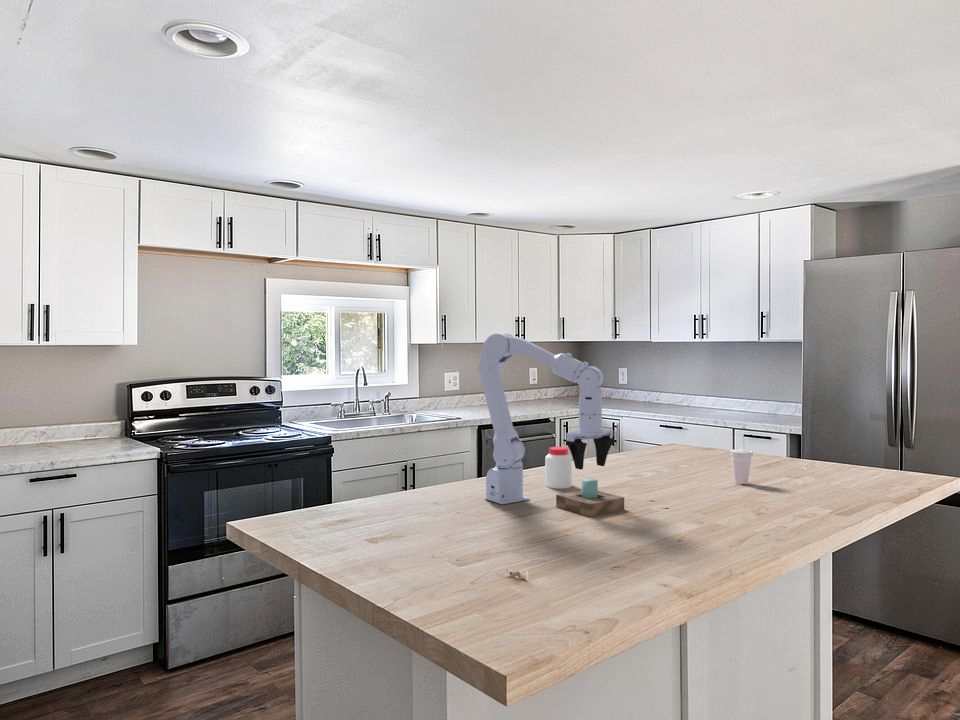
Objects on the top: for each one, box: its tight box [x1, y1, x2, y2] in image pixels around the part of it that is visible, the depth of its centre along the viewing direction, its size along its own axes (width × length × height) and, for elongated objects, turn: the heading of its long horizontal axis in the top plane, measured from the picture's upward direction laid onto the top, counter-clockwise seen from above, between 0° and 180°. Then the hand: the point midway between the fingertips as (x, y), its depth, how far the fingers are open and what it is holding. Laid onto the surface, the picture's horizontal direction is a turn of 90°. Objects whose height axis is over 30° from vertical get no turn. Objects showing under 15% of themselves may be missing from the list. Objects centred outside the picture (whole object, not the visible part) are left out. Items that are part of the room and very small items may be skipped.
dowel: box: [581, 478, 599, 500], centre depth 169 cm, size 4×4×7 cm
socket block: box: [555, 489, 625, 517], centre depth 169 cm, size 12×12×3 cm
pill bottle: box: [544, 446, 573, 490], centre depth 195 cm, size 8×8×11 cm
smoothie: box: [729, 435, 754, 486], centre depth 198 cm, size 6×6×14 cm
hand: (590, 467), depth 171 cm, fingers open, 7 cm apart
